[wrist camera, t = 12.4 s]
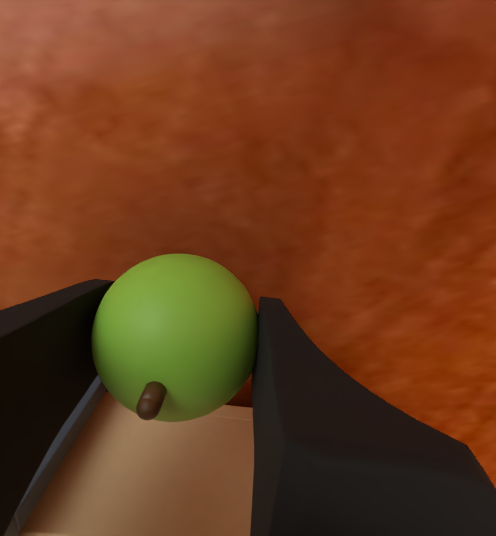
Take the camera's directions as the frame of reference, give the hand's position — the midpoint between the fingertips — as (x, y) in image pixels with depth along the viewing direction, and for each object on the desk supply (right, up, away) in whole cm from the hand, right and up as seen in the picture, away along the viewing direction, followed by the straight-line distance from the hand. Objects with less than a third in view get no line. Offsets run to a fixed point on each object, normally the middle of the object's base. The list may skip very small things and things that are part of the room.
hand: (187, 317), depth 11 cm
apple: (0, 0, +1) cm, 1 cm away
